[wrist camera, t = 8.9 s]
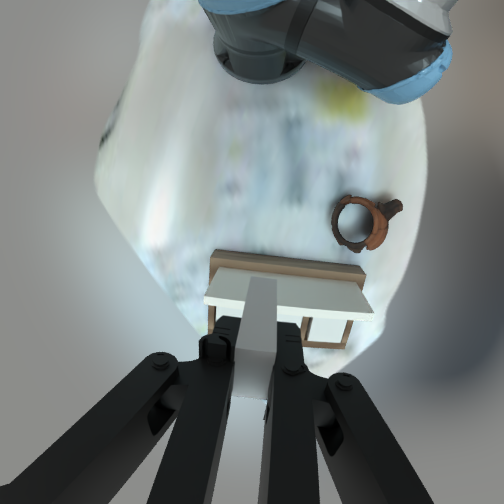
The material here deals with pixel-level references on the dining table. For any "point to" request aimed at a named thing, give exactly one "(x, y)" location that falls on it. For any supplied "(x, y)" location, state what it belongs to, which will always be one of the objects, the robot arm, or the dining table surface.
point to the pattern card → (293, 295)
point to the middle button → (290, 319)
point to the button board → (287, 268)
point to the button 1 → (228, 312)
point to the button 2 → (325, 329)
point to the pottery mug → (379, 219)
